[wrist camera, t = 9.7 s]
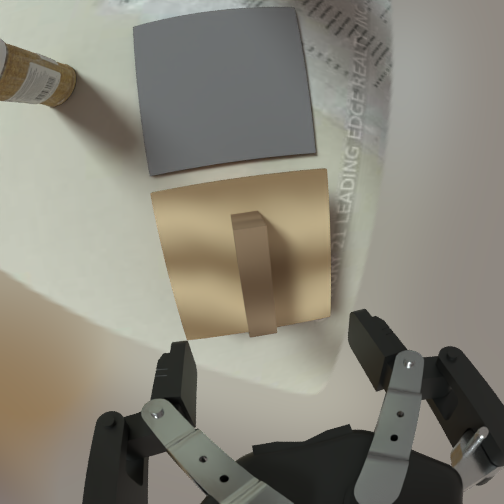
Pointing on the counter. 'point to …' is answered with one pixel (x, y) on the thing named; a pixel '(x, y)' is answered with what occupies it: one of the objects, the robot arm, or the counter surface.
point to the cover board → (216, 256)
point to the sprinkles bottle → (33, 77)
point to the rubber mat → (222, 88)
